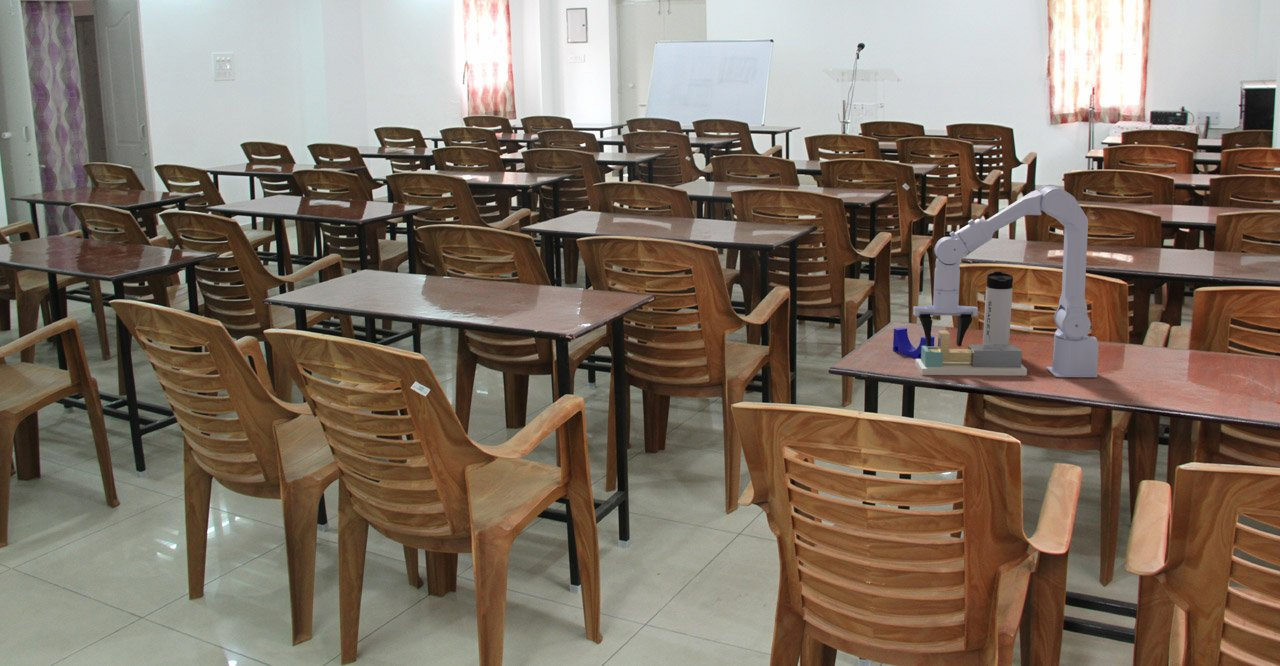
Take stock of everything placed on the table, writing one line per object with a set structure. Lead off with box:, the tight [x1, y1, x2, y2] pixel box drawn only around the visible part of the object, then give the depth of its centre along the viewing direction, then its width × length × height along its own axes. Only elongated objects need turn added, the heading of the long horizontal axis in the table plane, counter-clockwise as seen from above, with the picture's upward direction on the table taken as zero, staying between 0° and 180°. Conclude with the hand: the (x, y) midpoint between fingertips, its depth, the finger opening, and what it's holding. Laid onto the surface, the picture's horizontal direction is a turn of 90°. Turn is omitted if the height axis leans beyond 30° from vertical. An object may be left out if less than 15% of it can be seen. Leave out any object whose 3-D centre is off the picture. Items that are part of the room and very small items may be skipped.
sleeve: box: [967, 344, 1023, 368], centre depth 263 cm, size 11×6×4 cm, turn 86°
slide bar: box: [929, 330, 973, 363], centre depth 263 cm, size 15×4×7 cm, turn 86°
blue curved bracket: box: [892, 326, 936, 359], centre depth 278 cm, size 12×4×6 cm, turn 25°
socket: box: [921, 346, 943, 367], centre depth 264 cm, size 4×6×4 cm
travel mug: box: [982, 271, 1014, 345], centre depth 278 cm, size 6×7×20 cm
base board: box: [914, 358, 1028, 377], centre depth 264 cm, size 24×9×2 cm, turn 86°
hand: (943, 345), depth 264 cm, fingers open, 6 cm apart
